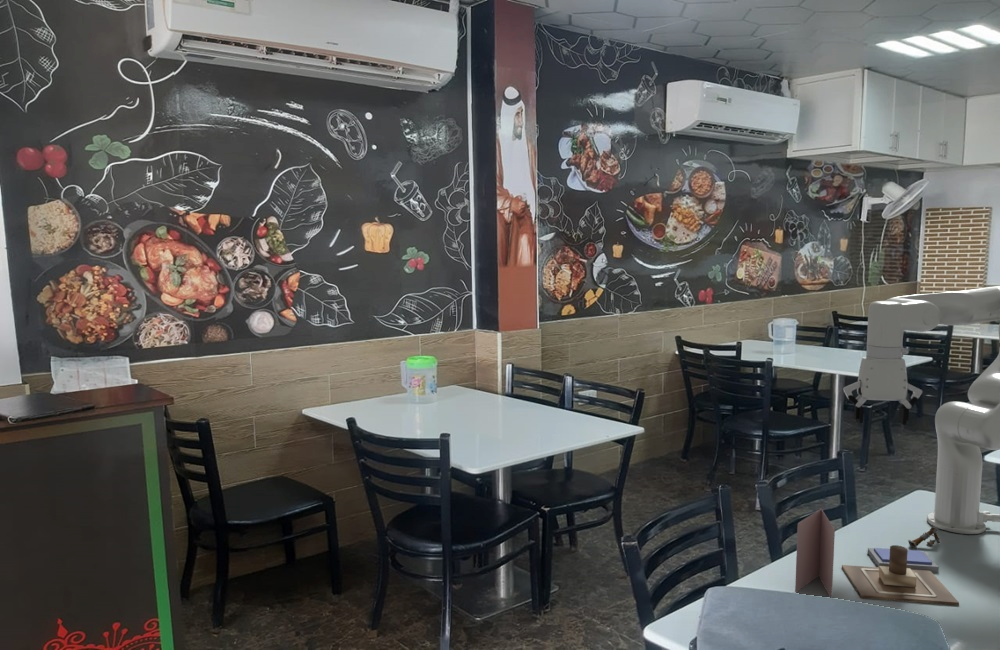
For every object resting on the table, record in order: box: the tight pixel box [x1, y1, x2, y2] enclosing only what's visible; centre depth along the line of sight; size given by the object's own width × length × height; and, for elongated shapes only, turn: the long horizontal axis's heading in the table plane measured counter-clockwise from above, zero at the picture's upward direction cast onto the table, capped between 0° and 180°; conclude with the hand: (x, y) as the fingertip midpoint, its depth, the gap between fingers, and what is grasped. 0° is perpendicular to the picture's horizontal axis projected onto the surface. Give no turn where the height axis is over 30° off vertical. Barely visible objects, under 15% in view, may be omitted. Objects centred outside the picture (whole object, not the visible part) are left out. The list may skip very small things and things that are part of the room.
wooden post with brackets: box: [907, 526, 941, 550], centre depth 169 cm, size 2×8×4 cm, turn 104°
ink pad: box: [867, 547, 940, 573], centre depth 160 cm, size 12×8×2 cm, turn 79°
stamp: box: [879, 544, 917, 588], centre depth 149 cm, size 6×4×8 cm, turn 77°
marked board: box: [841, 564, 960, 606], centre depth 149 cm, size 18×14×1 cm
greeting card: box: [794, 508, 836, 598], centre depth 148 cm, size 11×7×15 cm, turn 133°
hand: (880, 422), depth 172 cm, fingers open, 9 cm apart
